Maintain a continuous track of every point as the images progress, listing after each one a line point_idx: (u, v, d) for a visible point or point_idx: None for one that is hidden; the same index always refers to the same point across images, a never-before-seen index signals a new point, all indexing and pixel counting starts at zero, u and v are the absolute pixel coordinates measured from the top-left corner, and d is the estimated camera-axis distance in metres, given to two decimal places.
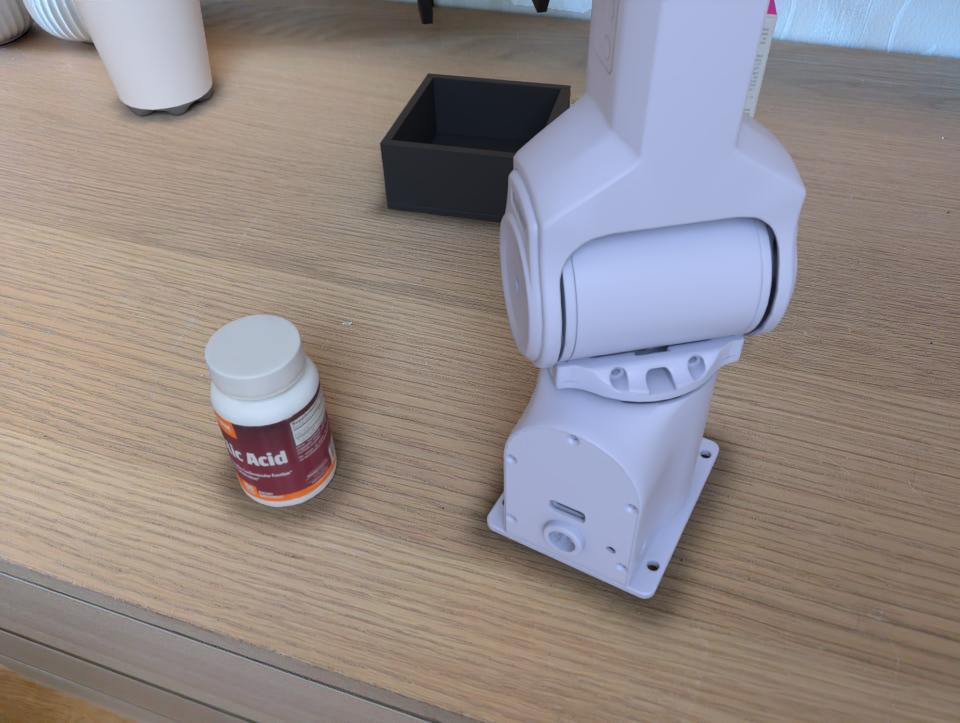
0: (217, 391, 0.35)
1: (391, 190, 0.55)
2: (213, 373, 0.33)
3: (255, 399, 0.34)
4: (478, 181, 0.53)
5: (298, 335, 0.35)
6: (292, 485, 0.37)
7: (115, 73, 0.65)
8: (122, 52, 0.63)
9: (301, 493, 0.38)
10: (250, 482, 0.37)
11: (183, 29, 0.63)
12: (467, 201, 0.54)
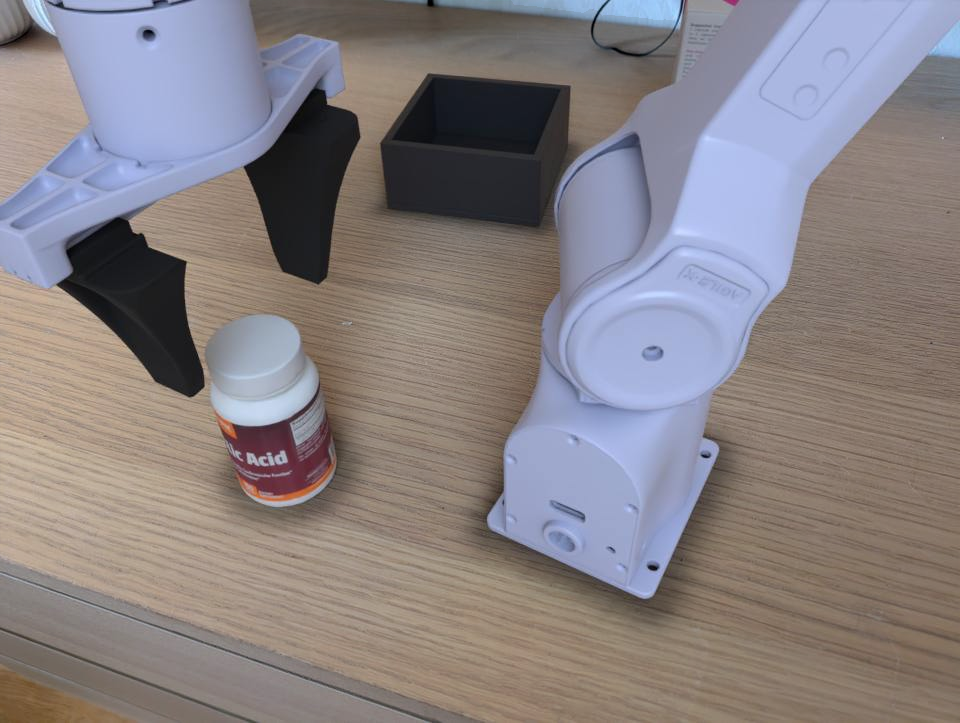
0: (217, 391, 0.35)
1: (391, 190, 0.55)
2: (213, 373, 0.33)
3: (255, 399, 0.34)
4: (478, 181, 0.53)
5: (298, 335, 0.35)
6: (292, 485, 0.37)
7: None
8: None
9: (301, 493, 0.38)
10: (250, 482, 0.37)
11: None
12: (467, 201, 0.54)
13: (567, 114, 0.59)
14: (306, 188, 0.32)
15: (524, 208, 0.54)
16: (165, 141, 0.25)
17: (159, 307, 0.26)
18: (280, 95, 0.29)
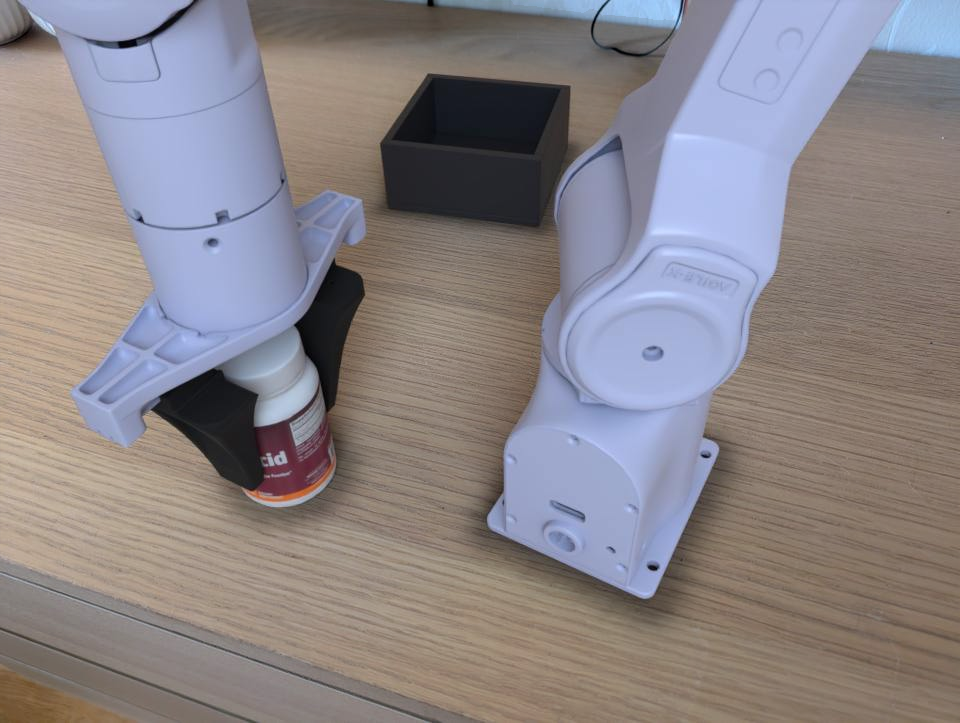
0: None
1: (391, 190, 0.55)
2: None
3: None
4: (478, 181, 0.53)
5: (298, 335, 0.35)
6: (292, 485, 0.37)
7: None
8: None
9: (301, 493, 0.38)
10: None
11: None
12: (467, 201, 0.54)
13: (567, 114, 0.59)
14: (317, 339, 0.36)
15: (524, 208, 0.54)
16: (222, 317, 0.30)
17: (235, 430, 0.32)
18: (313, 254, 0.34)
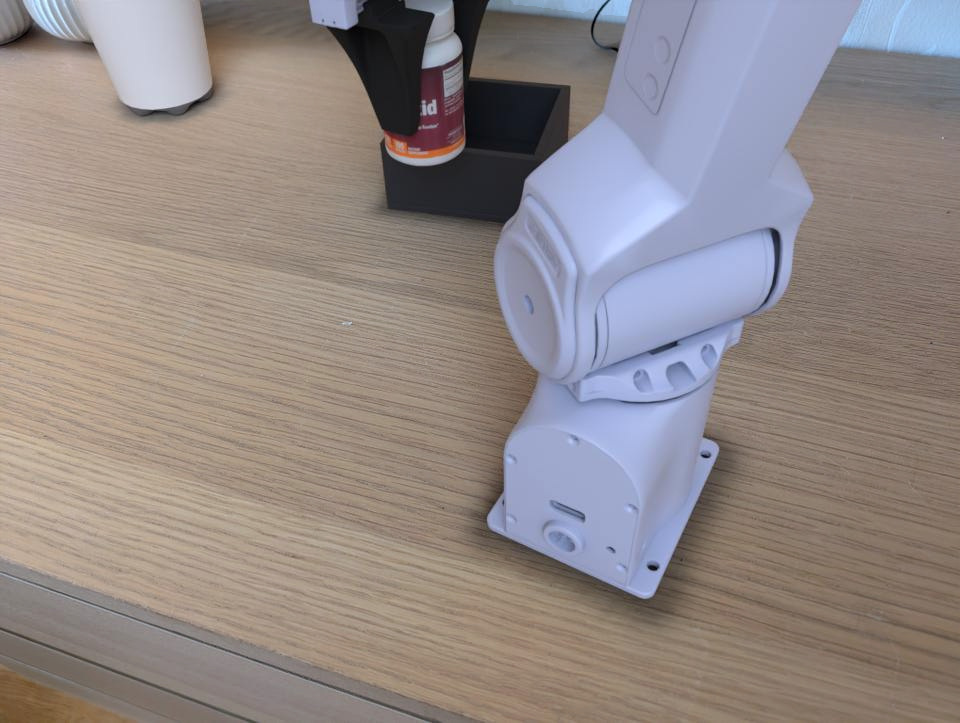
0: None
1: (391, 190, 0.55)
2: None
3: None
4: (478, 181, 0.53)
5: None
6: (437, 140, 0.46)
7: (115, 73, 0.65)
8: (122, 52, 0.63)
9: (442, 152, 0.46)
10: (402, 138, 0.46)
11: (183, 29, 0.63)
12: (467, 201, 0.54)
13: (567, 114, 0.59)
14: (461, 13, 0.45)
15: None
16: None
17: (414, 48, 0.40)
18: None
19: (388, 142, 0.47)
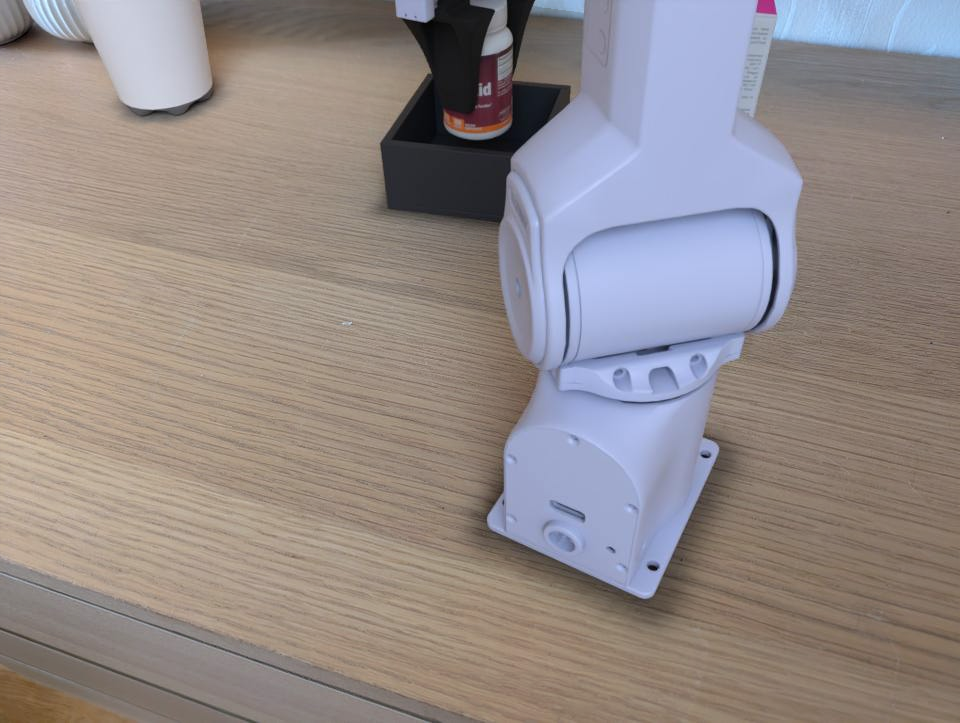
0: None
1: (391, 190, 0.55)
2: None
3: None
4: (478, 181, 0.53)
5: None
6: (490, 118, 0.54)
7: (115, 73, 0.65)
8: (122, 52, 0.63)
9: (494, 128, 0.54)
10: (460, 116, 0.54)
11: (183, 29, 0.63)
12: (467, 201, 0.54)
13: None
14: (512, 10, 0.53)
15: None
16: None
17: (477, 38, 0.48)
18: None
19: (447, 120, 0.55)
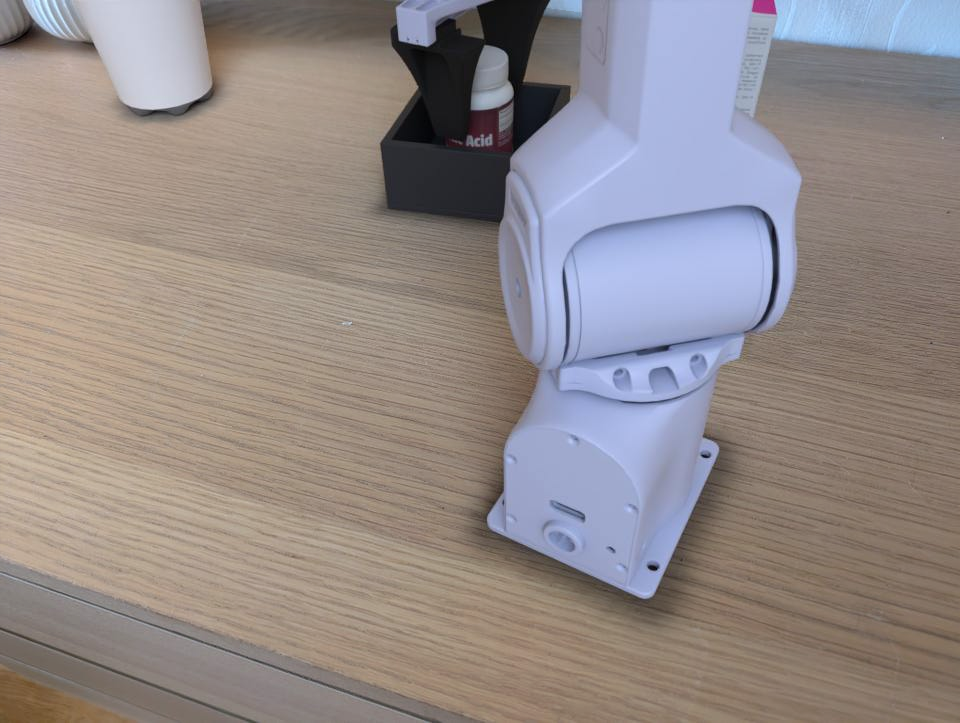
0: None
1: (391, 190, 0.55)
2: None
3: (481, 90, 0.53)
4: (478, 181, 0.53)
5: (505, 53, 0.53)
6: None
7: (115, 73, 0.65)
8: (122, 52, 0.63)
9: None
10: None
11: (183, 29, 0.63)
12: (467, 201, 0.54)
13: None
14: (521, 25, 0.54)
15: None
16: None
17: (469, 68, 0.48)
18: None
19: None
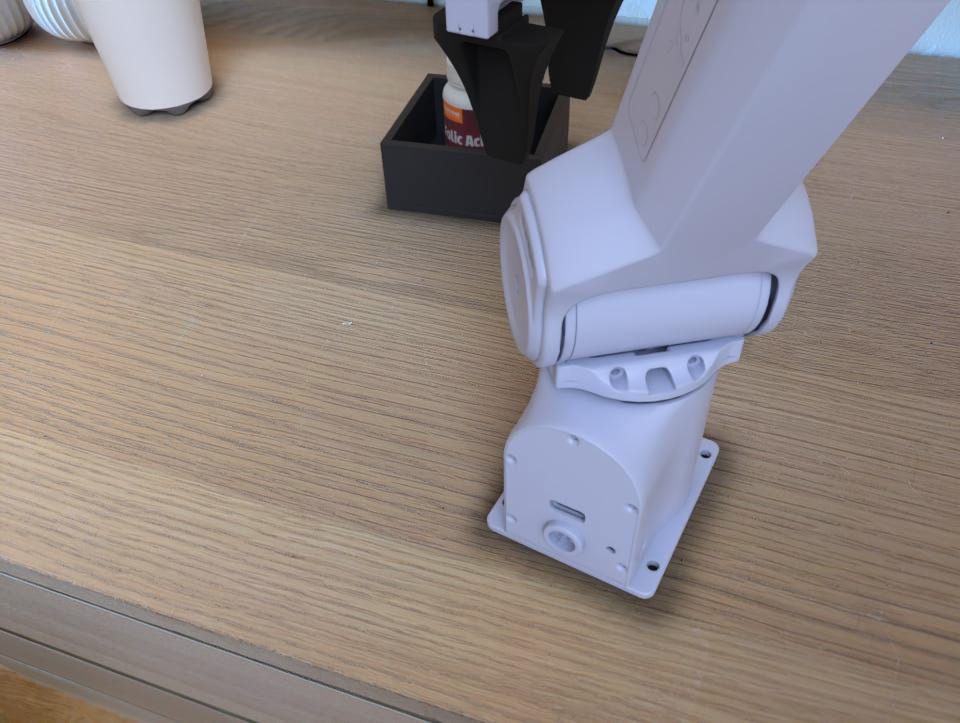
0: (451, 90, 0.54)
1: (391, 190, 0.55)
2: (455, 71, 0.52)
3: None
4: (478, 181, 0.53)
5: None
6: None
7: (115, 73, 0.65)
8: (122, 52, 0.63)
9: None
10: None
11: (183, 29, 0.63)
12: (467, 201, 0.54)
13: (567, 114, 0.59)
14: (596, 12, 0.42)
15: None
16: None
17: (539, 68, 0.36)
18: None
19: None
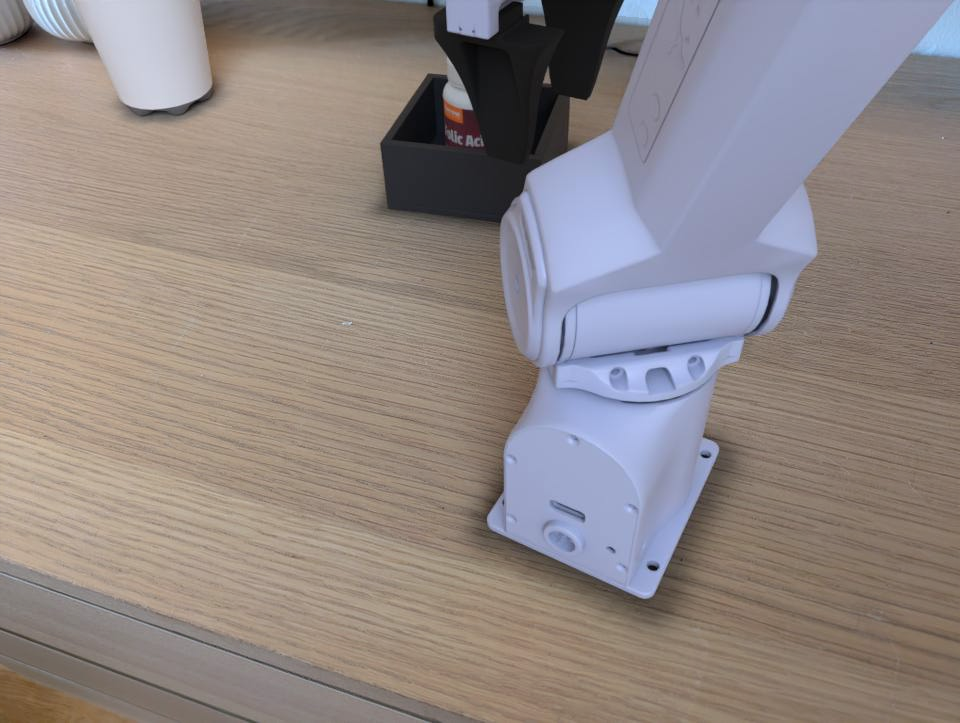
0: (451, 90, 0.54)
1: (391, 190, 0.55)
2: (455, 71, 0.52)
3: None
4: (478, 181, 0.53)
5: None
6: None
7: (115, 73, 0.65)
8: (122, 52, 0.63)
9: None
10: None
11: (183, 29, 0.63)
12: (467, 201, 0.54)
13: (567, 114, 0.59)
14: (597, 12, 0.42)
15: None
16: None
17: (539, 69, 0.36)
18: None
19: None
